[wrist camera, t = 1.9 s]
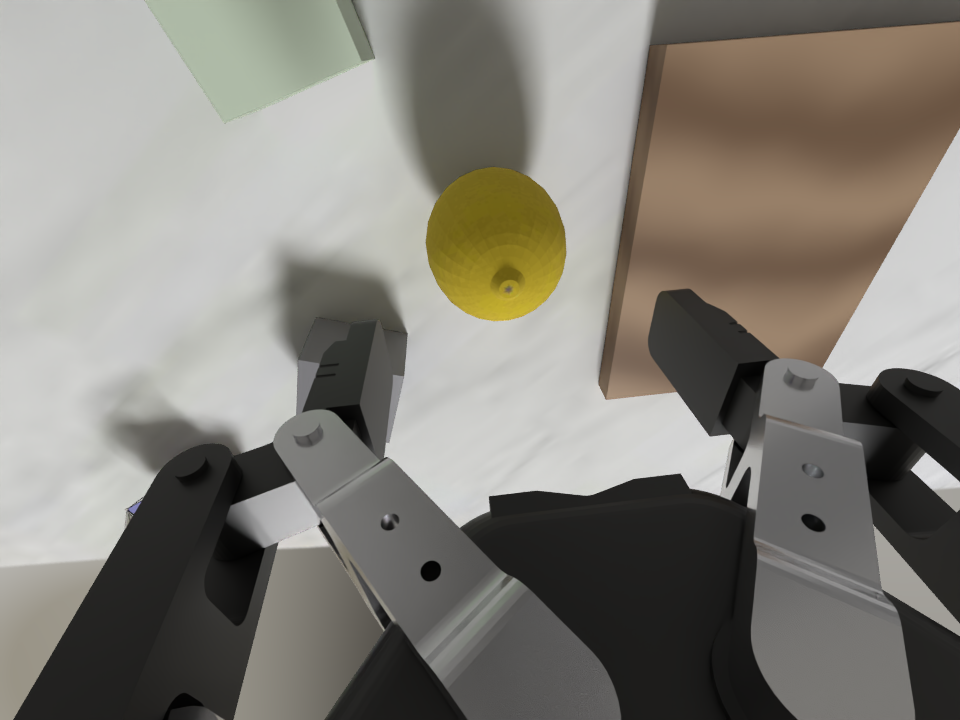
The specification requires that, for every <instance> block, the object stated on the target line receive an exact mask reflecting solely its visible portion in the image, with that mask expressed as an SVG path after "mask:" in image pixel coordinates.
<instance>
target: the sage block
mask: <svg viewBox="0 0 960 720" xmlns="http://www.w3.org/2000/svg"><path fill="white" fill-rule="evenodd" d="M144 1H145V2H146V4H147V5H148V7H149V8H150V10H151V11H152V13H153V15H154V16H155V18H156V19H157V21H158V22H159V24H160V25H161V27H162V28H163V30H164V32H165V33H166V35H167V36H168V38H169V39H170V41H171V42H172V44H173V45H174V47H175V48H176V50H177V52H178V53H179V55H180V56H181V58H182V59H183V61H184V62H185V64H186V65H187V67H188V69H189V70H190V72H191V73H192V75H193V76H194V78H195V79H196V81H197V82H198V84H199V86H200V87H201V89H202V90H203V92H204V93H205V95H206V96H207V98H208V99H209V101H210V102H211V104H212V106H213V107H214V109H215V110H216V112H217V113H218V115H219V116H220V118H221V119H222V121H223V123H227V122H230V121H232V120H235V119H238V118H240V117H243V116H246V115H248V114H251V113H254V112H256V111H259V110H262V109H264V108H266V107H269V106H271V105H273V104H275V103H277V102H280V101H282V100H284V99H286V98H289V97H291V96H293V95H295V94H298V93H300V92H302V91H304V90H306V89H309V88H311V87H313V86H315V85H318V84H320V83H322V82H324V81H326V80H329V79H331V78H333V77H335V76H338V75H340V74H342V73H344V72H347V71H349V70H351V69H353V68H355V67H358V66H360V65H362V64H364V63H367V62H369V61H371V60H373V59H375V58H374V55H373V53H372V50H371V48H370V45H369V43H368V40H367V38H366V36H365V33H364V31H363V28H362V26H361V23H360V21H359V18H358V16H357V14H356V11H355V9H354V6H353V4H352V1H351V0H144Z"/></svg>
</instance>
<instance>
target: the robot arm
mask: <svg viewBox="0 0 960 720" xmlns="http://www.w3.org/2000/svg"><path fill="white" fill-rule="evenodd" d="M648 348H649V352H650V355H651V357H652V358H653V360H654V361H655V362H656V364H657V365H658V366H659V368H660V369H661V370H662V372H663V373H664V375H665V376H666V377H667V379H668V380H669V381H670V383H671V384H672V386H673V387H674V388H675V390H676V391H677V392H678V394H679V395H680V396H681V398H682V399H683V401H684V402H685V403H686V405H687V406H688V407H689V409H690V410H691V411H692V413H693V414H694V416H695V417H696V418H697V420H698V421H699V422H700V424H701V425H702V427H703V428H704V429H705V431H706V432H707V433H708V435H709V436H718V435H727V434H730V435H731V436H732V437H733V440H732V442H731V444H730V447H729V451H728V456H727V461H726V467H725V472H724V477H723V483H722V488H721V493H720V496H718V495H715V494H712V493H708V492H704V491H699V490H695V489H689V487H688V485H687V484H686V482H685V480H684V479H683V477H682V475H681V474H673V475H664V476H656V477H647V478H639V479H633V480H630V481H628V482H625V483H623V484H620V485H617V486H615V487H612V488H610V489H607V490H605V491H602V492H599V493H597V494H594V495H590V496H582V495H572V494H563V493H553V492H544V491H530V492H522V493H514V494H505V495H497V496H489V504H490V512H487V513H485V514H482V515H480V516H478V517H476V518H474V519H473V520H471V521H469V522H468V523H466V524H465V525H463V526H462V527H461V528H459V527H458V526H457V525H456V524H455V523H454V522H453V521H452V520H451V519H450V518H449V517H448V516H447V515H446V514H445V513H444V512H443V511H442V510H441V509H440V508H439V507H438V506H437V505H436V504H435V503H434V502H433V501H432V500H431V499H430V498H429V497H428V496H427V495H426V494H425V492H424V491H423V490H422V489H421V488H420V487H419V486H418V485H417V484H416V483H415V482H414V481H413V480H412V479H411V478H410V477H409V476H408V475H407V474H406V473H405V472H404V471H403V470H402V469H401V468H400V467H399V466H398V465H397V464H396V463H395V462H394V461H393V460H392V459H390V458H388V457H385V458H384V453H385V444H386V436H387V428H388V419H389V411H390V403H391V395H392V386H393V374H392V366H391V361H390V357H389V353H388V349H387V345H386V341H385V337H384V332H383V328H382V325H381V322H380V320H379V319H377V320H367V321H358V322H352V323H351V326H350V329H349V332H348V336H347V339H346V340H344V341H335V342H334V343H333V344H332V345H331V346H330V347H329V348H328V349H327V350H326V351H325V352H324V353H323V356H322V359H321V362H320V364H319V368H318V370H317V372H316V375H315V376H316V378H314V381H313V383H312V386H311V389H310V391H309V394H308V397H307V400H306V402H305V405H304V408H303V411H302V413H300V414H298V415H296V416H294V417H292V418H291V419H289V420H288V421H286V422H285V423H284V424H283V425H282V426H281V427H280V428H279V429H278V431H277V433H276V434H275V437H274V441H273V442H272V443H270V444H267V445H265V446H262V447H259V448H256V449H253V450H251V451H248V452H245V453H242V454H239V455H236V456H233V455H232V453H231V452H230V450H229V449H228V448H227V447H226V446H224V445H221V444H204V445H200V446H197V447H194V448H191V449H189V450H187V451H185V452H183V453H181V454H179V455H178V456H176V457H175V458H173V459H172V460H171V461H169V462H168V463H167V464H166V465H165V466H164V467H163V468H162V469H161V470H160V472H159V473H158V474H157V476H156V478H155V479H154V481H153V483H152V484H151V486H150V488H149V489H148V491H147V493H146V495H145V496H144V498H143V500H142V501H141V503H140V505H139V507H138V508H137V510H136V512H135V513H134V515H133V517H132V518H131V520H130V522H129V524H128V525H127V527H126V529H125V530H124V532H123V534H122V535H121V537H120V539H119V541H118V542H117V544H116V546H115V547H114V549H113V551H112V552H111V554H110V556H109V558H108V559H107V561H106V563H105V565H104V566H103V568H102V570H101V571H100V573H99V575H98V576H97V578H96V580H95V582H94V583H93V585H92V587H91V588H90V590H89V592H88V594H87V595H86V597H85V599H84V600H83V602H82V604H81V605H80V607H79V609H78V610H77V612H76V614H75V616H74V617H73V619H72V621H71V622H70V624H69V626H68V628H67V629H66V631H65V633H64V634H63V636H62V638H61V639H60V641H59V643H58V644H57V646H56V648H55V650H54V651H53V653H52V655H51V656H50V658H49V660H48V662H47V663H46V665H45V667H44V668H43V670H42V672H41V673H40V675H39V677H38V679H37V680H36V682H35V684H34V685H33V687H32V689H31V690H30V692H29V694H28V696H27V697H26V699H25V701H24V702H23V704H22V706H21V707H20V709H19V711H18V713H17V714H16V716H15V718H14V719H13V720H233V719H234V715H235V711H236V707H237V703H238V699H239V695H240V691H241V687H242V683H243V680H244V676H245V671H246V667H247V664H248V660H249V656H250V652H251V648H252V644H253V640H254V636H255V632H256V628H257V624H258V620H259V617H260V613H261V609H262V604H263V600H264V597H265V593H266V589H267V585H268V581H269V577H270V573H271V569H272V565H273V561H274V557H275V553H276V550H277V546H278V542H279V541H282V540H284V539H287V538H289V537H291V536H294V535H296V534H299V533H301V532H303V531H306V530H308V529H311V528H313V527H315V526H317V527H318V529H319V531H320V532H321V534H322V535H323V537H324V538H325V540H326V541H327V543H328V544H329V546H330V547H331V549H332V550H333V552H334V553H335V555H336V556H337V558H338V559H339V561H340V562H341V564H342V565H343V567H344V569H345V570H346V572H347V573H348V575H349V576H350V578H351V579H352V581H353V582H354V584H355V586H356V587H357V589H358V590H359V592H360V594H361V596H362V597H363V599H364V601H365V602H366V604H367V606H368V607H369V609H370V610H371V612H372V614H373V615H374V617H375V618H376V620H377V621H378V623H379V625H380V626H381V627H382V629H383V631H384V632H383V634H382V635H381V637H380V638H379V640H378V641H377V643H376V644H375V646H374V647H373V649H372V650H371V652H370V653H369V654H368V656H367V657H366V659H365V660H364V662H363V663H362V665H361V666H360V668H359V669H358V671H357V672H356V674H355V675H354V677H353V678H352V680H351V681H350V683H349V684H348V686H347V687H346V689H345V690H344V692H343V693H342V694H341V696H340V697H339V699H338V700H337V702H336V703H335V705H334V706H333V708H332V709H331V711H330V712H329V714H328V715H327V717H326V718H325V720H960V636H958V635H957V634H955V633H953V632H952V631H950V630H948V629H947V628H945V627H943V626H942V625H940V624H938V623H937V622H935V621H934V620H932V619H930V618H928V617H927V616H925V615H924V614H922V613H920V612H919V611H917V610H915V609H914V608H912V607H910V606H909V605H907V604H905V603H903V602H902V601H900V600H898V599H897V598H895V597H894V596H892V595H890V594H889V593H887V592H885V591H884V590H882V588H881V581H880V574H879V566H878V558H877V551H876V543H875V536H874V528H873V524H874V526H875V527H876V528H877V529H878V530H879V531H880V533H881V534H882V535H883V536H884V537H885V538H886V539H887V540H888V542H889V543H890V544H891V545H892V546H893V547H894V549H895V550H896V551H897V552H898V553H899V554H900V555H901V557H902V558H903V559H904V560H905V561H906V562H907V563H908V564H909V566H910V567H911V568H912V569H913V570H914V571H915V573H916V574H917V575H918V576H919V577H920V578H921V579H922V581H923V582H924V583H925V584H926V585H927V586H928V588H929V589H930V590H931V591H932V592H933V593H934V594H935V596H936V597H937V598H938V599H939V600H940V601H941V602H942V603H943V605H944V606H945V607H946V608H947V609H948V610H949V612H950V613H951V614H952V615H953V616H954V617H955V618H956V619H957V621H958V622H959V623H960V510H959V511H958V512H957V513H956V512H955V511H954V510H953V509H952V508H951V507H950V506H949V505H948V504H947V503H946V502H944V501H943V500H942V499H941V498H940V497H939V496H938V495H937V494H936V493H935V492H934V491H933V490H932V489H931V488H929V487H928V486H927V485H926V484H925V483H924V482H923V481H922V480H921V479H920V478H919V477H918V476H917V475H915V474H914V473H913V472H912V471H911V469H912V467H913V466H914V465H915V464H916V463H917V462H918V461H919V459H920V458H921V457H922V456H923V455H924V454H925V453H927V454H928V455H930V456H931V457H932V458H933V459H934V460H935V461H937V462H938V463H939V464H940V465H941V466H942V467H944V468H945V469H946V470H947V471H948V472H949V473H951V474H952V475H953V476H954V477H955V478H956V479H957V480H958V481H959V482H960V390H959V389H958V388H956V387H955V386H953V385H951V384H950V383H948V382H946V381H944V380H942V379H940V378H938V377H935V376H933V375H930V374H927V373H924V372H920V371H916V370H910V369H902V368H892V369H887V370H884V371H882V372H881V373H880V374H879V375H878V377H877V378H876V380H875V381H874V383H873V384H872V386H863V385H853V384H843V383H838V381H837V379H836V378H835V377H834V376H833V375H832V374H830V373H829V372H828V371H826V370H825V369H823V368H821V367H819V366H817V365H815V364H812V363H809V362H806V361H802V360H797V359H789V358H782V359H780V358H779V357H778V356H776V355H775V354H774V353H773V352H772V351H771V350H769V349H768V348H767V347H766V346H765V345H764V344H763V343H761V342H760V341H759V340H758V339H757V338H756V337H754V336H753V335H752V334H751V333H747V330H746V329H745V328H744V327H743V326H742V325H741V324H738V323H737V321H736V320H735V319H734V318H733V317H731V316H730V315H729V314H728V313H727V312H726V311H723V310H721V309H719V308H717V307H715V306H713V305H711V304H709V303H706V302H705V301H704V300H702V299H701V298H700V297H699V296H698V295H697V294H696V293H695V292H694V291H692V290H691V289H689V288H686V289H676V290H667V291H661V292H660V293H659V294H658V296H657V299H656V303H655V308H654V312H653V317H652V322H651V326H650V331H649V335H648Z"/></svg>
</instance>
